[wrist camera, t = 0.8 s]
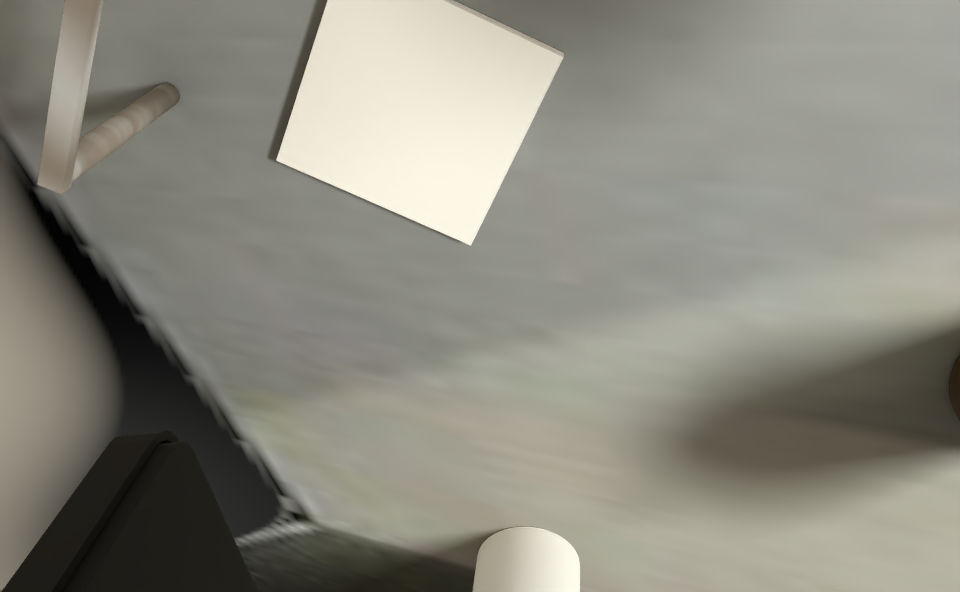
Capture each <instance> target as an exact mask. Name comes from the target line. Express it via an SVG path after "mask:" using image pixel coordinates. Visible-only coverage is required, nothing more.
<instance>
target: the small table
mask: <svg viewBox="0 0 960 592" xmlns="http://www.w3.org/2000/svg"><path fill="white" fill-rule="evenodd" d="M102 5H103V0H65V1H64V8H63V15H62V21H61V28H60V35H59V42H58V48H57V55H56V62H55V69H54V75H53V82H52V89H51V96H50V102H49V109H48V116H47V123H46V129H45V136H44V143H43V150H42V156H41V163H40V170H39V177H38V183H37V185H40V186H42V187H45V188H47V189H49V190H52V191H54V192H57V193H59V194H61V195H62V194H63V193H64V192H66V191H67V190H68V189H70V188H71V184H72V182H73V181H74V180H75V179H77V178H78V177H79V176H81V175H82V174H83V173H85V172H86V171H87V170H89V169H90V168H91V167H93V166H94V165H95V164H97V163H98V162H99V161H101V160H102V159H103V158H105V157H106V156H107V155H109V154H110V153H111V152H113V151H114V150H115V149H117V148H118V147H119V146H121V145H122V144H123V143H125V142H126V141H127V140H129V139H130V138H131V137H133V136H134V135H135V134H137V133H138V132H139V131H141V130H142V129H143V128H145V127H146V126H147V125H149V124H150V123H152V122H153V121H154V120H156V119H157V118H158V117H160V116H161V115H162V114H164V113H165V112H166V111H168V110H169V109H170V108H172V107H173V106H174V105H176V104H177V103H178V101H179V99H180V95H179V91H178V90H177V88H176V87H175V86H174V85H172V84H170V83H161V84H160V85H158V86H157V87H155V88H154V89H152V90H151V91H149V92H148V93H146V94H145V95H143V96H142V97H140V98H139V99H137V100H136V101H134V102H133V103H131V104H130V105H128V106H127V107H125V108H124V109H123V110H121V111H120V112H118V113H117V114H115V115H114V116H112V117H111V118H109V119H108V120H106V121H105V122H103V123H102V124H100V125H99V126H97V127H96V128H94V129H93V130H91V131H90V132H88V133H87V134H85V135H84V136H82V137H81V138H80V132H81V126H82V121H83V115H84V109H85V103H86V98H87V92H88V86H89V80H90V74H91V69H92V63H93V57H94V51H95V46H96V40H97V34H98V28H99V23H100V17H101V11H102Z"/></svg>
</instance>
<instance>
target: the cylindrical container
mask: <svg viewBox="0 0 960 592" xmlns="http://www.w3.org/2000/svg"><path fill="white" fill-rule="evenodd" d="M473 592H580V563H579V557H578V555H577V553H576V551H575V549H574V548H573V547H572V546H571V544H570V543H569V542H567V541H566V540H565V539H564V538H562V537H561V536H559V535H557V534H555V533H553V532H550V531H548V530H545V529H540V528H536V527H513V528H508V529H504V530H502V531H499V532H497V533H495V534H493V535H492V536H490V537H488V538H487V539H486V540H485V541H484V542H483V544H482V545H481V547H480V549H479V552H478V555H477V562H476V570H475V577H474V585H473Z"/></svg>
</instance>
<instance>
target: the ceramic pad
mask: <svg viewBox="0 0 960 592" xmlns="http://www.w3.org/2000/svg"><path fill="white" fill-rule="evenodd" d="M563 56H564V53H563V52H561V51H559V50H557V49H554V48H552V47H550V46H548V45H546V44H544V43H542V42H540V41H538V40H536V39H533V38H531V37H529V36H527V35H525V34H523V33H521V32H519V31H517V30H515V29H512V28H510V27H508V26H506V25H504V24H502V23H500V22H498V21H496V20H494V19H491V18H489V17H487V16H485V15H483V14H481V13H479V12H477V11H475V10H473V9H470V8H468V7H466V6H464V5H462V4H460V3H458V2H456V1H454V0H328V1H327V4H326V7H325V10H324V13H323V16H322V19H321V23H320V26H319V29H318V32H317V35H316V38H315V41H314V44H313V48H312V51H311V54H310V57H309V60H308V63H307V66H306V69H305V73H304V76H303V79H302V82H301V85H300V88H299V91H298V94H297V98H296V101H295V104H294V107H293V110H292V113H291V116H290V119H289V123H288V126H287V129H286V132H285V135H284V138H283V141H282V144H281V148H280V151H279V154H278V157H277V160H276V161H278V162H281V163H283V164H285V165H287V166H290V167H292V168H294V169H297V170H299V171H301V172H304V173H306V174H308V175H310V176H313V177H315V178H317V179H320V180H322V181H324V182H326V183H329V184H331V185H333V186H336V187H338V188H340V189H343V190H345V191H347V192H349V193H352V194H354V195H356V196H359V197H361V198H363V199H365V200H368V201H370V202H372V203H375V204H377V205H379V206H381V207H384V208H386V209H388V210H391V211H393V212H395V213H398V214H400V215H402V216H404V217H407V218H409V219H411V220H414V221H416V222H418V223H420V224H423V225H425V226H427V227H430V228H432V229H434V230H437V231H439V232H441V233H443V234H446V235H448V236H450V237H453V238H455V239H457V240H459V241H462V242H464V243H466V244H469V245H471V244H472V242H473V240H474V238H475V236H476V234H477V232H478V230H479V228H480V226H481V224H482V222H483V220H484V218H485V216H486V214H487V211H488V209H489V207H490V205H491V203H492V201H493V199H494V197H495V195H496V193H497V191H498V189H499V187H500V185H501V183H502V181H503V179H504V177H505V175H506V173H507V171H508V169H509V167H510V165H511V163H512V161H513V159H514V157H515V155H516V153H517V151H518V149H519V147H520V144H521V142H522V140H523V138H524V136H525V134H526V132H527V130H528V128H529V126H530V124H531V122H532V120H533V118H534V116H535V114H536V112H537V110H538V108H539V106H540V104H541V102H542V100H543V98H544V96H545V94H546V92H547V90H548V88H549V86H550V84H551V82H552V80H553V77H554V75H555V73H556V71H557V69H558V67H559V65H560V63H561V61H562V59H563Z"/></svg>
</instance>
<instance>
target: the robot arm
mask: <svg viewBox="0 0 960 592" xmlns="http://www.w3.org/2000/svg"><path fill="white" fill-rule="evenodd" d="M2 592H258V591H257V589H256V587H255V584H254V582H253V580H252V578H251V576H250V573H249V571H248V569H247V567H246V565H245V562H244V560H243V558H242V556H241V554H240V551H239V549H238V547H237V545H236V543H235V540H234V538H233V536H232V534H231V532H230V530H229V528H228V525H227V523H226V521H225V519H224V516H223V514H222V512H221V510H220V508H219V505H218V503H217V501H216V499H215V497H214V494H213V492H212V490H211V488H210V486H209V483H208V481H207V479H206V477H205V475H204V472H203V471H202V468H201V466H200V464H199V462H198V459H197V457H196V455H195V453H194V451H193V449H192V448H191V446H190V445H189V444H187V443H186V442H180V441H179V440H178V438H177V436H176V435H174V434H173V433H172V432H169V431H155V432H143V433H132V434H122V435H120V436H117V437H115V438H114V439H113V440H112V441H111V442H110V443H109V445H108V446H107V447H106V449H105V450H104V451H103V453H102V454H101V456H100V457H99V458H98V460H97V461H96V463H95V464H94V466H93V467H92V468H91V469H90V471H89V472H88V473H87V475H86V476H85V478H84V479H83V480H82V482H81V483H80V485H79V486H78V487H77V489H76V490H75V491H74V493H73V494H72V496H71V497H70V498H69V500H68V501H67V503H66V504H65V505H64V507H63V508H62V510H61V511H60V512H59V514H58V515H57V516H56V518H55V519H54V520H53V522H52V523H51V524H50V526H49V527H48V529H47V530H46V531H45V533H44V534H43V535H42V537H41V538H40V540H39V541H38V543H37V544H36V545H35V546H34V548H33V549H32V551H31V552H30V554H29V555H28V556H27V558H26V559H25V560H24V562H23V563H22V564H21V566H20V567H19V569H18V570H17V571H16V573H15V574H14V575H13V577H12V578H11V580H10V581H9V582H8V584H7V585H6V586H5V588H4V589H3V591H2Z"/></svg>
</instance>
